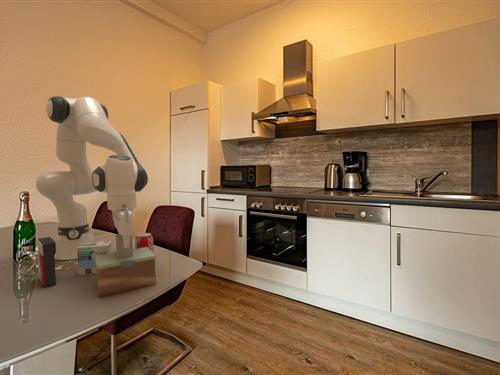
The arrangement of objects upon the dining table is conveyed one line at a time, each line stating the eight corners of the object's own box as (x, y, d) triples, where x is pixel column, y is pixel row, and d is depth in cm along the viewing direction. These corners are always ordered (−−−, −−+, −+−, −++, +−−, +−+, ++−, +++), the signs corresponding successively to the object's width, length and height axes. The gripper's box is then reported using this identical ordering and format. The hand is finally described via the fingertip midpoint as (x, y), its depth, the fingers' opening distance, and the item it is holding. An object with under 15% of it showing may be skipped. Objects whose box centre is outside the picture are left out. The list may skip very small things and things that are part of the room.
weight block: (116, 254, 93) (115, 234, 93) (130, 252, 95) (129, 233, 95) (118, 258, 89) (117, 237, 89) (132, 255, 92) (131, 235, 91)
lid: (94, 260, 93) (94, 255, 93) (147, 251, 102) (147, 246, 102) (97, 272, 82) (96, 266, 82) (156, 260, 91) (156, 256, 91)
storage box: (96, 283, 94) (95, 258, 93) (148, 272, 103) (147, 249, 102) (99, 297, 83) (97, 268, 83) (155, 283, 93) (154, 258, 92)
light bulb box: (77, 275, 101) (76, 247, 100) (83, 269, 107) (82, 242, 107) (109, 272, 104) (107, 245, 103) (113, 266, 110) (111, 240, 110)
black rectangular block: (38, 279, 98) (35, 238, 97) (52, 275, 101) (50, 236, 100) (43, 288, 91) (39, 244, 89) (58, 284, 94) (55, 241, 92)
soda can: (147, 265, 110) (146, 236, 109) (132, 264, 112) (131, 236, 111) (157, 260, 117) (156, 232, 116) (142, 259, 119) (141, 232, 118)
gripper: (137, 206, 84) (139, 249, 85) (127, 200, 101) (129, 236, 102) (115, 207, 81) (117, 253, 82) (108, 201, 98) (110, 238, 99)
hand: (124, 243), depth 92 cm, fingers open, 8 cm apart
